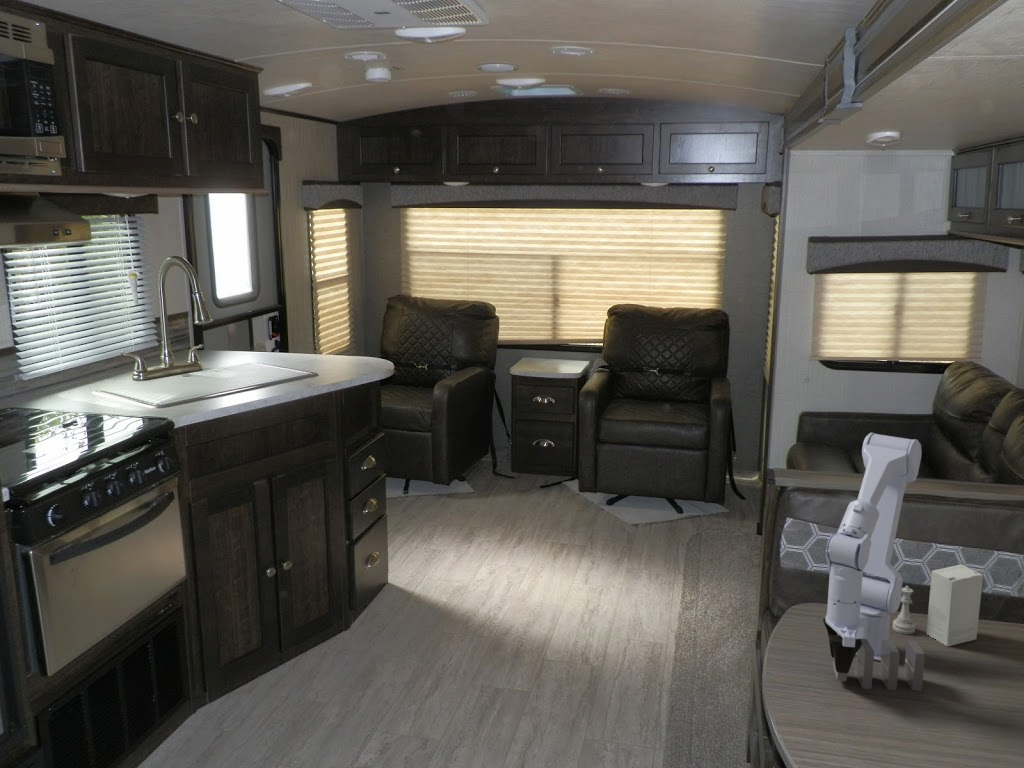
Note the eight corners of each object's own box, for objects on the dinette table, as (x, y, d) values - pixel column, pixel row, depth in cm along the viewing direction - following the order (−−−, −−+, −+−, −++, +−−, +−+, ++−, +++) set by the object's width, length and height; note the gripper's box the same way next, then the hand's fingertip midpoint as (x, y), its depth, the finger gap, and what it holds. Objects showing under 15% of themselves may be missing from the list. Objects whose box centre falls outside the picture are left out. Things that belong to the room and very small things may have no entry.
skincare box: (954, 628, 188) (961, 562, 185) (978, 641, 182) (985, 573, 179) (924, 635, 185) (930, 568, 182) (947, 648, 179) (953, 579, 177)
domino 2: (862, 688, 165) (864, 651, 163) (854, 674, 169) (857, 638, 168) (871, 688, 164) (874, 651, 163) (864, 675, 169) (866, 638, 168)
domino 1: (836, 680, 165) (840, 643, 163) (832, 667, 170) (836, 631, 168) (846, 681, 165) (850, 644, 163) (842, 668, 169) (845, 632, 168)
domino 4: (912, 690, 164) (915, 653, 162) (903, 676, 169) (906, 640, 167) (921, 691, 164) (925, 653, 162) (912, 677, 168) (916, 640, 167)
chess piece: (913, 636, 184) (917, 591, 182) (890, 631, 187) (894, 587, 185) (916, 628, 188) (920, 584, 186) (894, 623, 190) (897, 580, 188)
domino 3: (887, 689, 164) (890, 652, 163) (878, 675, 169) (881, 639, 168) (896, 689, 164) (899, 652, 163) (888, 676, 169) (891, 639, 167)
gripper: (875, 616, 156) (869, 686, 159) (859, 583, 170) (854, 648, 173) (833, 612, 158) (828, 682, 160) (821, 580, 172) (817, 644, 174)
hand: (839, 664), depth 167 cm, fingers closed on domino 1, 5 cm apart
